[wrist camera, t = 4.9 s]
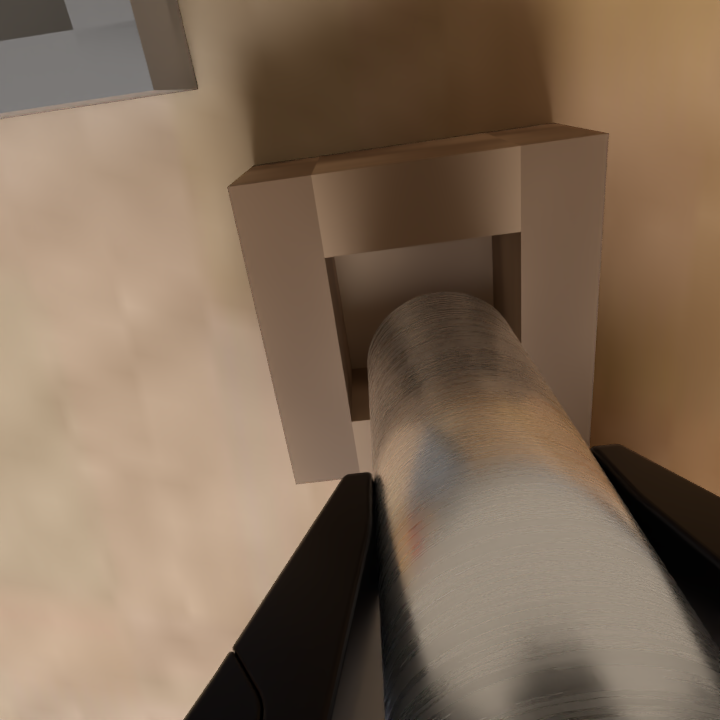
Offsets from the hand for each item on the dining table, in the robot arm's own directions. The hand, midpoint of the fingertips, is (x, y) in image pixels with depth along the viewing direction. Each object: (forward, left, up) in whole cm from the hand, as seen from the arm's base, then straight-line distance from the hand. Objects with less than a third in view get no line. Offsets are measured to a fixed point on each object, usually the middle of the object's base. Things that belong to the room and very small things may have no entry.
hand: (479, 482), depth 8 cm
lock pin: (0, 0, -4) cm, 4 cm away
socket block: (0, 0, -9) cm, 9 cm away
